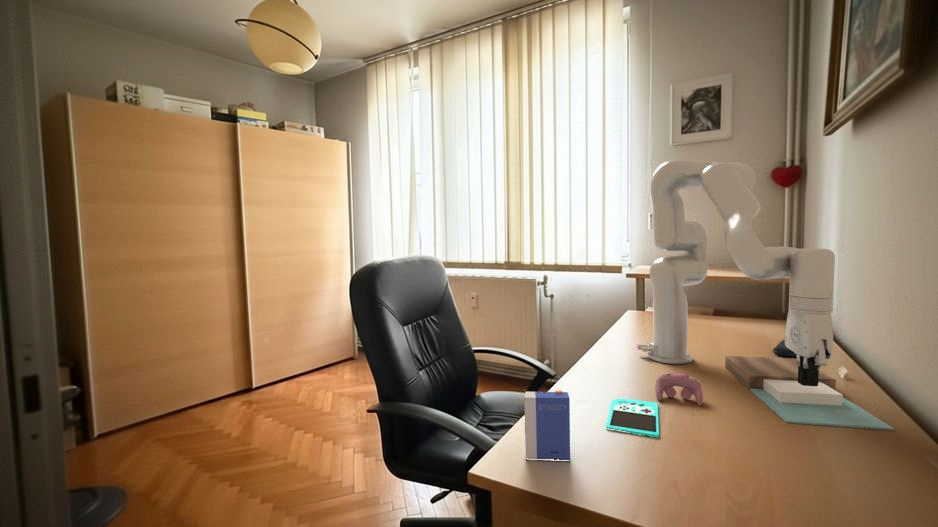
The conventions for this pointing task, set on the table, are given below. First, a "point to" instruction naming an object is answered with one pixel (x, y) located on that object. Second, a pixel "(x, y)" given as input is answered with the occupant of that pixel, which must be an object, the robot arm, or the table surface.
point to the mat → (822, 413)
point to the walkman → (547, 425)
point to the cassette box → (802, 392)
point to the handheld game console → (634, 417)
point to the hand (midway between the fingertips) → (807, 384)
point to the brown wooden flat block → (767, 370)
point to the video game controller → (681, 380)
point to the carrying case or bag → (784, 351)
